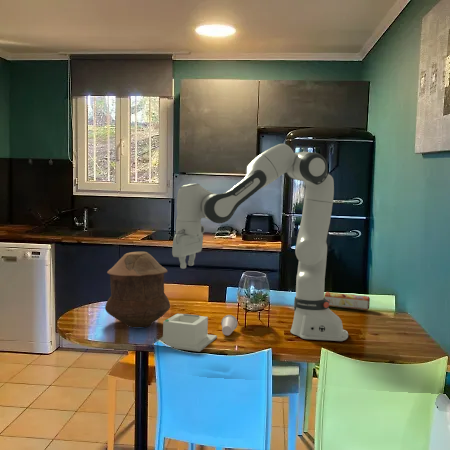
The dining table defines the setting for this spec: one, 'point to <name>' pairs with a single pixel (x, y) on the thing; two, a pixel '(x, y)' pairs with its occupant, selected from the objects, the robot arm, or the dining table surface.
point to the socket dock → (187, 332)
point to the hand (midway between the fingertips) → (187, 266)
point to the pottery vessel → (137, 290)
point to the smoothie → (228, 324)
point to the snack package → (347, 300)
